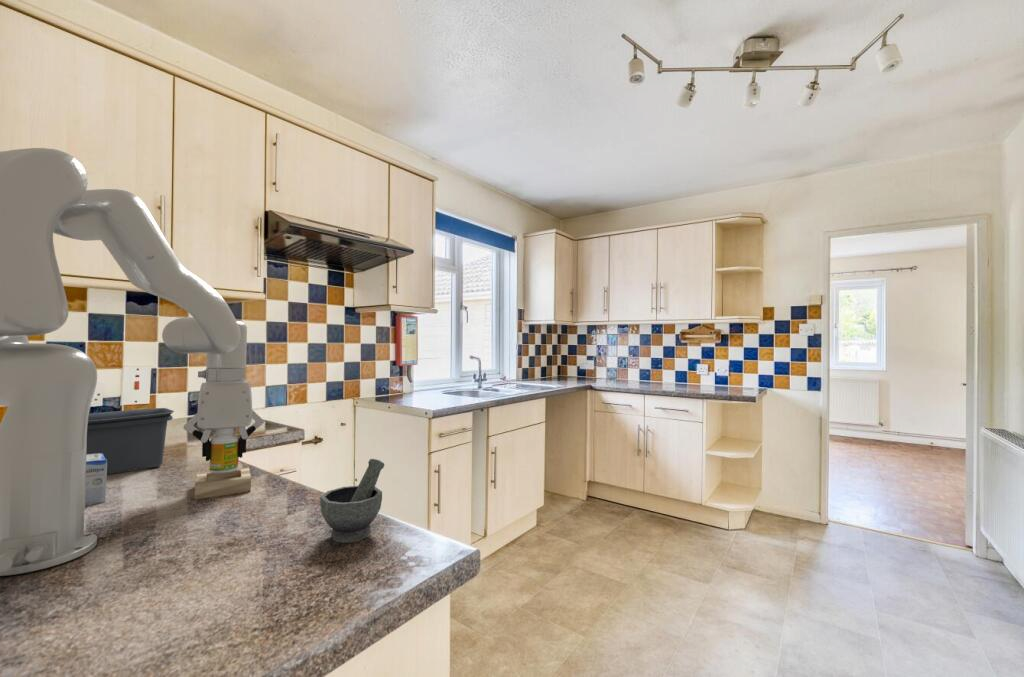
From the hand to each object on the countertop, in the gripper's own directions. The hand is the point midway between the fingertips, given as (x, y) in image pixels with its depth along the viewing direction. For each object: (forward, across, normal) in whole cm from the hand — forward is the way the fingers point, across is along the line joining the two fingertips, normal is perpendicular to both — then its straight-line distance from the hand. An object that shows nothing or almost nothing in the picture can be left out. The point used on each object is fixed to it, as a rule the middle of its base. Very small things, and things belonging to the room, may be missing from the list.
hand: (224, 457), depth 100 cm
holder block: (+7, 0, 0) cm, 7 cm away
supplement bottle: (+3, 0, 0) cm, 3 cm away
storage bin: (+7, -23, +31) cm, 39 cm away
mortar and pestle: (+7, +19, -39) cm, 44 cm away
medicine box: (+7, -23, +5) cm, 25 cm away
